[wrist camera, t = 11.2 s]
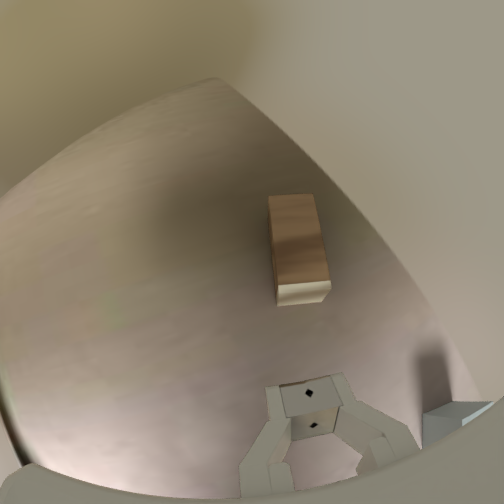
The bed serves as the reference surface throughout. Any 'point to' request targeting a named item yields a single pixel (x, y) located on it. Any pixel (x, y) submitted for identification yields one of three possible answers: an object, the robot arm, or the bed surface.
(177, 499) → the robot arm
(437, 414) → the bluegrey block
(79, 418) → the bed surface
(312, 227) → the walnut block
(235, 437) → the bed surface
